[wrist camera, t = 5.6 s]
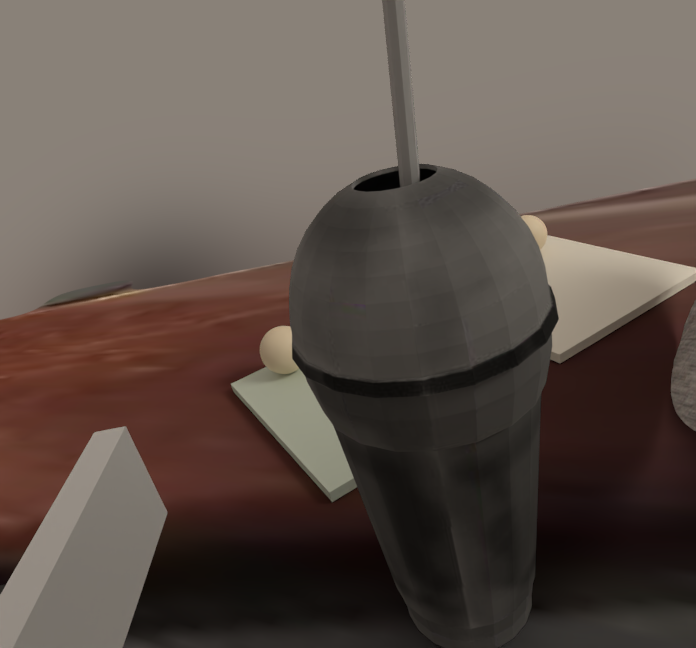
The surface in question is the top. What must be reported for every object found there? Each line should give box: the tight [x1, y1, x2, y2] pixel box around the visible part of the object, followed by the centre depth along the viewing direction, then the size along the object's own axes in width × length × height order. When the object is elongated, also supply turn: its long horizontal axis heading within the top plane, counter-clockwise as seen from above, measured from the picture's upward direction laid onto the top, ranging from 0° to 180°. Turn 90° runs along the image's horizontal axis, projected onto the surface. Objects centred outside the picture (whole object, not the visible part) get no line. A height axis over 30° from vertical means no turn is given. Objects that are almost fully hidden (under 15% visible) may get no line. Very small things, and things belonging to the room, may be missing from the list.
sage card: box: [231, 326, 357, 502], centre depth 34 cm, size 13×13×4 cm
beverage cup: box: [289, 0, 559, 648], centre depth 17 cm, size 7×7×20 cm
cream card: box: [521, 215, 696, 363], centre depth 39 cm, size 13×13×4 cm
